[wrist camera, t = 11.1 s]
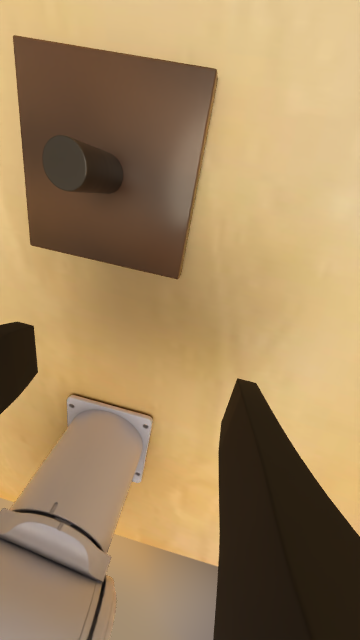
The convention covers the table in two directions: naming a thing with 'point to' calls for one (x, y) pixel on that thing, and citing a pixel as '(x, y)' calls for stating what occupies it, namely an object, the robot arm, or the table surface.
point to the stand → (111, 151)
